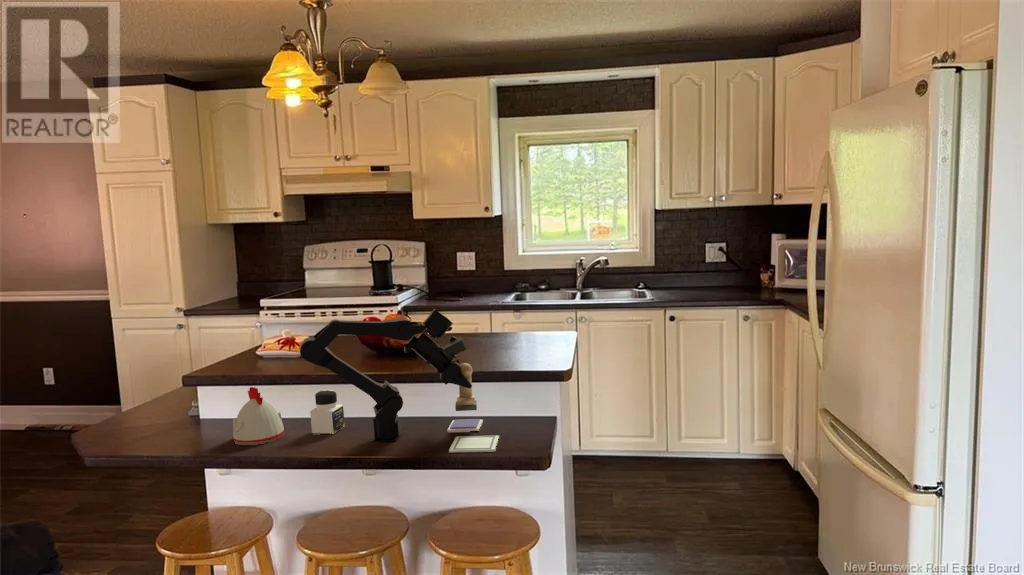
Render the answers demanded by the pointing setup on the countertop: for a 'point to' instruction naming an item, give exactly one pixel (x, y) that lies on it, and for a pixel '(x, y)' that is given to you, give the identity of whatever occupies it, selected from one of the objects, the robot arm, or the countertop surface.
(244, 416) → the kitchen timer
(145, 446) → the countertop surface
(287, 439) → the countertop surface
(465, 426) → the ink pad
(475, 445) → the marked board
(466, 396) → the hand stamp
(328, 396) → the medicine bottle
